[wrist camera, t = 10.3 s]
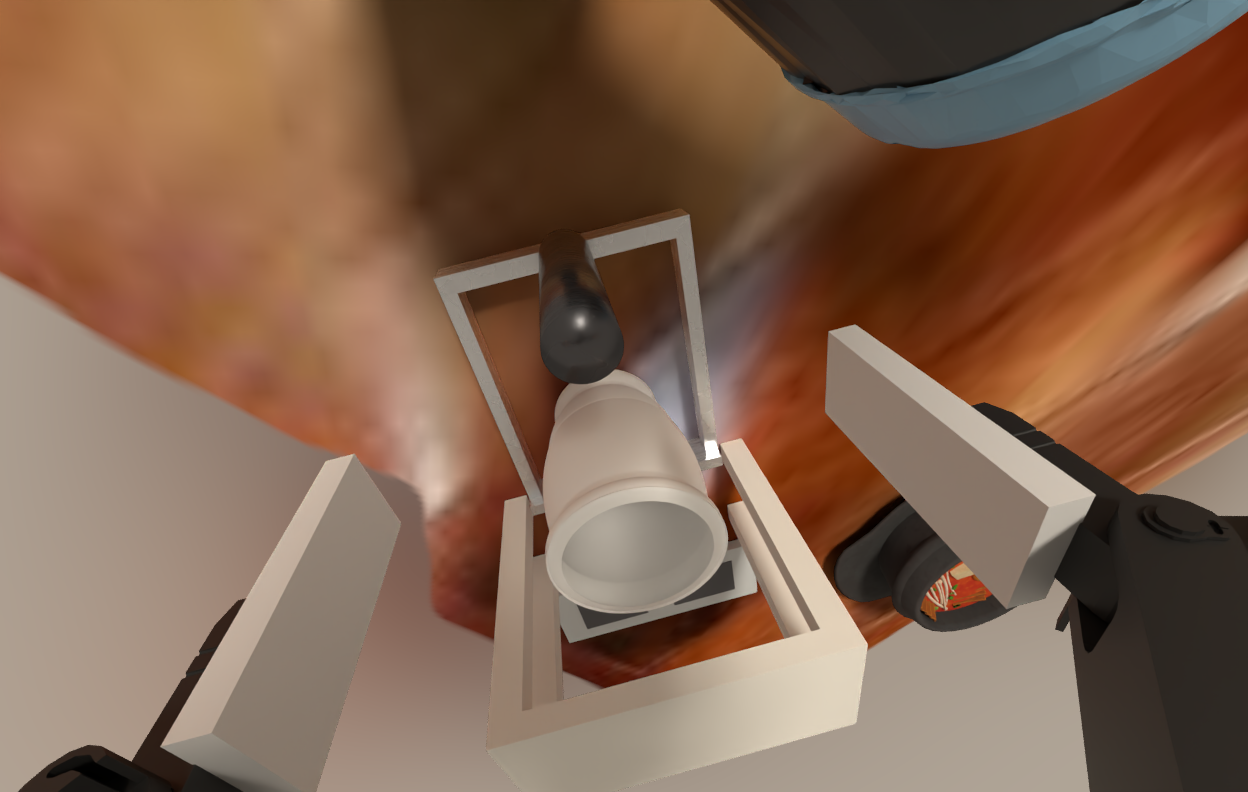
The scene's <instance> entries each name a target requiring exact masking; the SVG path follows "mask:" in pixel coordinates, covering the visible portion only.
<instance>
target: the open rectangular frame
mask: <svg viewBox="0 0 1248 792" xmlns="http://www.w3.org/2000/svg"><path fill="white" fill-rule="evenodd" d="M720 448H721V456H722V461H723V463H724V465H725V467H726V469H727V471H728V473H729V475H730V477H731V479H732V480H733V482H734V484H735V486H736V488H737V490H738V492H739V494H740V496H741V498H742V500H743V501H740V502H737V503H733V504H729V505H727V507H728V516H729V520H730V522H731V524H732V527H733V529H734V531H735V533H736V535H737V537H738V539H737V540H734V541H730V542H728V546H727V551H726V554H725V557H724V559H723V561H722V563H721V565H720V566H719V568H718V569H717V571H716V572H715V573H714V575H713V576H712V577H711V578H710V579H709V580H708V581H707V582H706V583H705V584H704V585H703V586H701V587H700V588H699V589H697V590H696V591H695V592H693V593H691V594H690V595H688V596H686V597H685V598H683V599H681V600H679V601H677V602H674V603H672V604H669V605H667V606H664V607H661V608H657V609H653V610H649V611H644V612H637V613H606V612H600V611H595V610H591V609H588V608H585V607H582V606H580V605H578V604H575V603H574V602H572V601H570V600H569V599H567V598H566V597H564V596H563V595H562V594H561V593H560V592H559V591H558V590H557V589H556V588H555V586H554V585H553V583H552V582H551V580H550V578H549V575H548V572H547V567H546V560H545V554H543V555H539V556H535V557H533V514H532V512H531V510H530V508H529V500H528V497H527V495H525V496H521V497H517V498H513V499H510V500H506V501H505V503H504V516H503V530H502V543H501V556H500V569H499V582H498V596H497V609H496V622H495V635H494V648H493V662H492V675H491V688H490V702H489V715H488V728H487V741H486V751H487V753H488V754H489V755H490V756H491V757H492V758H493V759H494V761H495V762H496V763H497V764H498V765H499V766H500V768H501V769H502V770H503V771H504V772H505V773H506V775H507V776H508V777H509V778H510V779H511V780H512V782H513V783H514V784H515V785H516V786H517V787H518V789H519V790H520V791H521V792H615V791H619V790H622V789H626V788H629V787H633V786H636V785H639V784H643V783H647V782H650V781H654V780H657V779H661V778H665V777H668V776H672V775H675V774H679V773H682V772H686V771H689V770H693V769H696V768H700V767H704V766H707V765H710V764H714V763H718V762H721V761H724V760H728V759H732V758H735V757H739V756H743V755H746V754H750V753H753V752H757V751H760V750H764V749H767V748H771V747H775V746H778V745H782V744H785V743H788V742H792V741H795V740H799V739H803V738H806V737H810V736H814V735H817V734H821V733H824V732H827V731H831V730H834V729H838V728H842V727H845V726H849V725H852V724H856V721H857V713H858V707H859V700H860V694H861V687H862V680H863V673H864V667H865V660H866V653H867V646H868V644H867V642H866V641H865V639H864V637H863V636H862V634H861V633H860V631H859V629H858V628H857V626H856V624H855V623H854V621H853V620H852V618H851V616H850V615H849V613H848V611H847V610H846V608H845V606H844V605H843V603H842V602H841V600H840V598H839V597H838V595H837V593H836V592H835V590H834V589H833V587H832V585H831V584H830V582H829V580H828V579H827V577H826V576H825V574H824V572H823V571H822V569H821V567H820V566H819V564H818V562H817V561H816V559H815V558H814V556H813V554H812V553H811V551H810V549H809V548H808V546H807V545H806V543H805V541H804V540H803V538H802V536H801V535H800V533H799V531H798V530H797V528H796V527H795V525H794V523H793V522H792V520H791V518H790V517H789V515H788V514H787V512H786V510H785V509H784V507H783V505H782V504H781V502H780V500H779V499H778V497H777V496H776V494H775V492H774V491H773V489H772V487H771V486H770V484H769V483H768V481H767V479H766V478H765V476H764V474H763V473H762V471H761V470H760V468H759V466H758V465H757V463H756V461H755V460H754V458H753V456H752V455H751V453H750V452H749V450H748V448H747V447H746V445H745V443H744V442H743V440H742V439H741V438H740V439H736V440H732V441H729V442H725V443H721V444H720ZM756 578H757V580H758V582H759V585H760V587H761V589H762V591H763V593H764V595H765V598H766V600H767V602H768V604H769V606H770V608H771V610H772V613H773V615H774V617H775V619H776V621H777V623H778V625H779V628H780V630H781V632H782V634H783V636H784V638H785V639H782V640H778V641H775V642H771V643H768V644H764V645H760V646H757V647H753V648H750V649H746V650H742V651H739V652H735V653H731V654H728V655H724V656H721V657H717V658H713V659H710V660H706V661H702V662H699V663H695V664H692V665H688V666H684V667H681V668H677V669H674V670H670V671H666V672H663V673H659V674H655V675H652V676H648V677H645V678H641V679H637V680H634V681H630V682H627V683H623V684H619V685H616V686H612V687H608V688H605V689H601V690H598V691H594V692H590V693H587V694H583V695H579V696H576V697H572V698H569V699H565V700H564V697H563V676H562V655H561V634H560V625H561V627H562V629H563V631H564V633H565V635H566V637H567V639H568V641H569V643H572V642H576V641H580V640H583V639H587V638H591V637H594V636H598V635H601V634H605V633H609V632H612V631H616V630H620V629H623V628H627V627H631V626H634V625H638V624H642V623H645V622H649V621H653V620H656V619H660V618H664V617H667V616H671V615H675V614H678V613H682V612H686V611H689V610H693V609H697V608H700V607H704V606H708V605H711V604H715V603H719V602H722V601H726V600H730V599H733V598H737V597H740V596H744V595H748V594H751V593H755V592H757V584H756Z"/></svg>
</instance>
